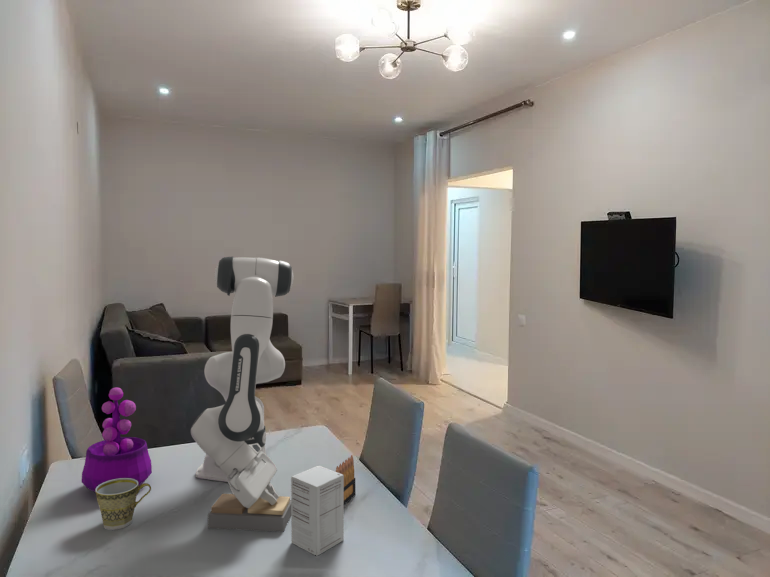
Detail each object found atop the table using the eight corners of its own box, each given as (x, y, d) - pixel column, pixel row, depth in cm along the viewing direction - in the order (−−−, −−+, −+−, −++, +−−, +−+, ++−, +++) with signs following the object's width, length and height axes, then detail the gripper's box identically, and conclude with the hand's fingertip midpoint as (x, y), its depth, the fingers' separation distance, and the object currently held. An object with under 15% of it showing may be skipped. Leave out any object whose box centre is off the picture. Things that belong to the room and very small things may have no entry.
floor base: (208, 528, 140) (207, 509, 140) (222, 509, 150) (221, 491, 150) (283, 531, 139) (283, 512, 139) (292, 512, 149) (292, 494, 149)
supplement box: (318, 528, 141) (319, 464, 140) (344, 540, 135) (345, 473, 134) (289, 543, 134) (290, 475, 132) (316, 557, 128) (316, 486, 127)
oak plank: (247, 513, 140) (247, 509, 140) (257, 499, 148) (257, 495, 148) (282, 515, 140) (282, 510, 140) (290, 500, 148) (290, 496, 148)
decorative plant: (146, 469, 176) (144, 377, 174) (158, 491, 161) (156, 390, 159) (79, 482, 166) (76, 384, 164) (84, 507, 150) (82, 399, 148)
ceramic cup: (96, 537, 135) (95, 497, 135) (96, 519, 144) (95, 482, 143) (153, 525, 141) (152, 487, 140) (150, 509, 150) (149, 473, 149)
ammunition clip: (338, 510, 151) (338, 467, 150) (332, 509, 152) (332, 466, 151) (355, 494, 161) (356, 454, 160) (350, 493, 161) (350, 453, 161)
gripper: (234, 470, 133) (273, 512, 133) (259, 441, 153) (293, 477, 153) (216, 487, 134) (255, 528, 134) (243, 456, 154) (277, 492, 154)
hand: (276, 501), depth 144 cm, fingers closed, pressing on oak plank
